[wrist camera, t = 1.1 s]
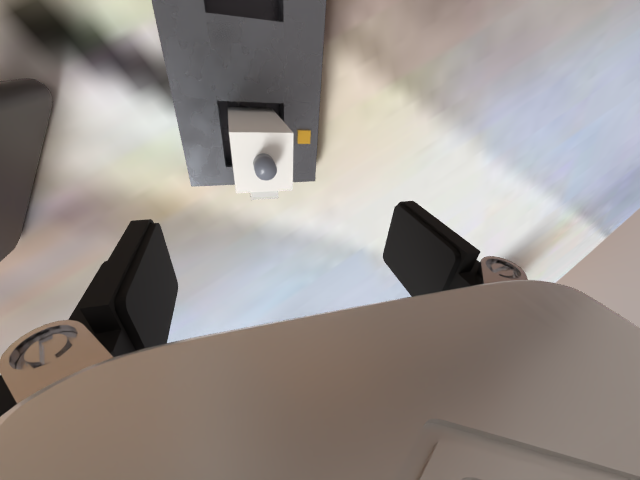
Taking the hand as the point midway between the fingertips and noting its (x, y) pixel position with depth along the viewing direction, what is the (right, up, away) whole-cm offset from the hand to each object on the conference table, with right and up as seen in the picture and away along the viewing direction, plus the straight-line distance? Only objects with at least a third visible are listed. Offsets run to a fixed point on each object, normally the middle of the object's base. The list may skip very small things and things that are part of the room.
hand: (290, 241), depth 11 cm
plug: (-5, +11, +15) cm, 19 cm away
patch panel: (-5, +15, +12) cm, 20 cm away
